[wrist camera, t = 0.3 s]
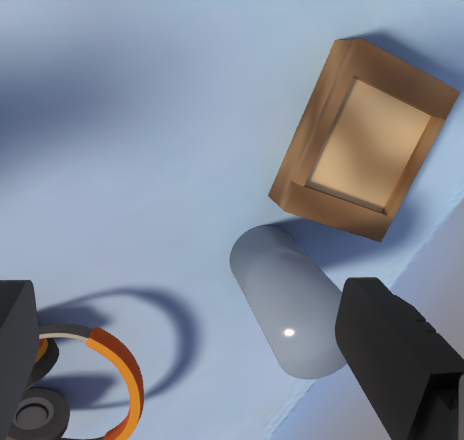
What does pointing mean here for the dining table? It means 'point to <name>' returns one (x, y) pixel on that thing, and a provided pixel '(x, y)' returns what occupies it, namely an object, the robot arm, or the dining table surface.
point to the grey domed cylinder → (289, 301)
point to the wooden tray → (361, 139)
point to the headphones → (55, 405)
